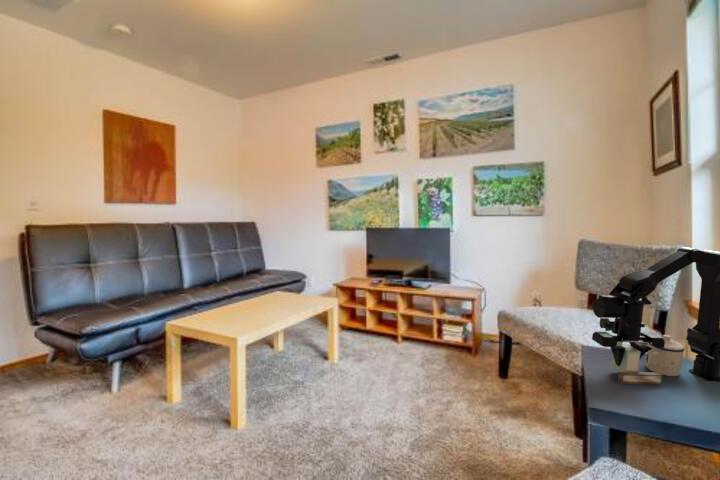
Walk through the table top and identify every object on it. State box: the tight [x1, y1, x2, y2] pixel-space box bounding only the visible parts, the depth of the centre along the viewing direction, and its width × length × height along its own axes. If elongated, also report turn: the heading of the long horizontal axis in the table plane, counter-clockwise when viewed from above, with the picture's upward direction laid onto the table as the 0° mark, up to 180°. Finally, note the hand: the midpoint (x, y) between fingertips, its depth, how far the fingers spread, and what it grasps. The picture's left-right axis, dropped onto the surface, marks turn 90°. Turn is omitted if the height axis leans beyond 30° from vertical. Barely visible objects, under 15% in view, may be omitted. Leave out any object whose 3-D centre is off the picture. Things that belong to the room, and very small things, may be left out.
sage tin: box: [610, 342, 641, 373], centre depth 113 cm, size 4×6×8 cm, turn 0°
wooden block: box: [617, 371, 663, 385], centre depth 110 cm, size 12×2×3 cm, turn 90°
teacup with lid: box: [645, 334, 685, 377], centre depth 117 cm, size 12×9×12 cm
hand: (624, 365), depth 114 cm, fingers closed on sage tin, 4 cm apart
